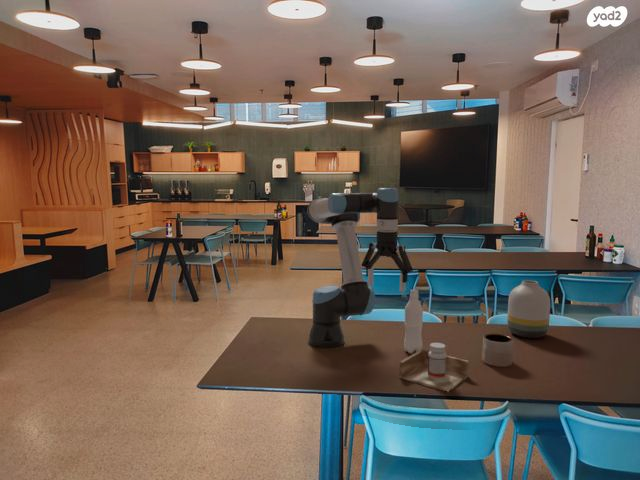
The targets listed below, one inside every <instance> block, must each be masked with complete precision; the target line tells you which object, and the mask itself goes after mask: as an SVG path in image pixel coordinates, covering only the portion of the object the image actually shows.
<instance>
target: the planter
mask: <svg viewBox="0 0 640 480" xmlns="http://www.w3.org/2000/svg"><path fill="white" fill-rule="evenodd" d="M481 352H482V353H481V361H482V362H483V363H485V364H486V365H488V366H491V367H496V368H506V367H510V366H512V365H513V362H514V338H513V337H512V336H509V335H506V334H504V333H503V334H502V333H493V332H492V333H486V334H483V336H482V349H481Z"/></svg>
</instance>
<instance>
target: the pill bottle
mask: <svg viewBox="0 0 640 480" xmlns="http://www.w3.org/2000/svg"><path fill="white" fill-rule="evenodd" d="M446 346H447V345H445V344H444V343H441V342H432V343H430V344H429V350H428V351H429V353H428V376H429V377H430V378H432V379H435V380H442V379H445V378H446V362H447V356H448V354H447V353H446Z"/></svg>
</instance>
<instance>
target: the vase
mask: <svg viewBox="0 0 640 480" xmlns="http://www.w3.org/2000/svg"><path fill="white" fill-rule="evenodd" d="M507 302H508V303H507V327H508V330H509V331H510V333H512V334H513V335H516V336H519V337H522V338H527V339H528V338H529V339H538V338H542V337H544V336H546V334H547V333H548V331H549V329H550V316H551V297H550V295H549V293H548V292H547V291H546V290H545V289H544V288H542V287H541V286H540V285H539V282H538V281H536V280H529V279H525V280H522V281H521V283H520V284H519V285H517V286H515V287H514V288H512V290H511V291H510V293H509V295H508V301H507Z"/></svg>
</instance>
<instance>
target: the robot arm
mask: <svg viewBox="0 0 640 480" xmlns="http://www.w3.org/2000/svg"><path fill="white" fill-rule="evenodd" d="M306 211H307V216H308V218H309V219H311V221H313V222H314V223H316V224H317V223H318V224H321V225H331V230H333V231H335V233H336V241H337V246H338V247H337V248H338V254H339V261H340V265H341V267H340V268H341V271H342V279H343V282H342V284H341V285H340V286H338V285H324V286H320V287H318V288H316V289H315V290H314V291H313V293H312V300H311V302H312V325H311V329H310V332H309V335H308V343H309V344H310V345H312V346H314V347H318V348H337V347H340V346H342V345H343V344H344V343H345V335H344V333H343V329H342V325H341V318H344V317H352V316H364V315H370V314H371V313H372V312H373V310H374V309H375V304H376V303H375V302H376V295H375V294H376V293H375V290H374V288H373V287H372V286H374V268H373V266H374V265H375V264H376V263H377V261H378V260H379V259H380V258H381V257H386V258H387V257H388V258H391V259H392V260H393V262H394V263H395V265H396V266H397V267H398V269H399V271H400V272H401V273H399V292H401V293H402V292H405V291H406V283H408V276H409V275H408V274H409V273H412V272H413V271H414V269H413V267H412V265H411V264H412V263H411V262H410V259H409V256H408V254H407V252H406V245H398V231H397V230H399V228H398V224H399V223H398V222H399V219H398V217H399V189H398V188H395V187H379V188H378V189H377V192H352V193H351V192H337V193H334V192H333V193H331V194H329V196H328V198H327V197H322V198H317V199H314V200H311V201H310V203H309V204H308V206H307V209H306ZM371 213H372V214H375V213H376V230H377V231H376V242H369V244H368V250H367V252H366V254H365V256H364V258H363V261H362V262H361V258H360V252H359V246H358V242H357V241H358V240H357V235H356V234H357V233H356V228H357V226H358V223H359V222H360V219H361V214H371ZM376 249H377V250H376ZM375 250H376V252H375ZM397 251H398V252H397ZM374 252H375V254H374ZM398 253H399V254H398ZM372 256H373V257H372ZM362 267H364V268H365V270H366V271H365V272H366V273H365V276H366V277H367V280H365V278H364V275H363V270H362Z"/></svg>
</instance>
